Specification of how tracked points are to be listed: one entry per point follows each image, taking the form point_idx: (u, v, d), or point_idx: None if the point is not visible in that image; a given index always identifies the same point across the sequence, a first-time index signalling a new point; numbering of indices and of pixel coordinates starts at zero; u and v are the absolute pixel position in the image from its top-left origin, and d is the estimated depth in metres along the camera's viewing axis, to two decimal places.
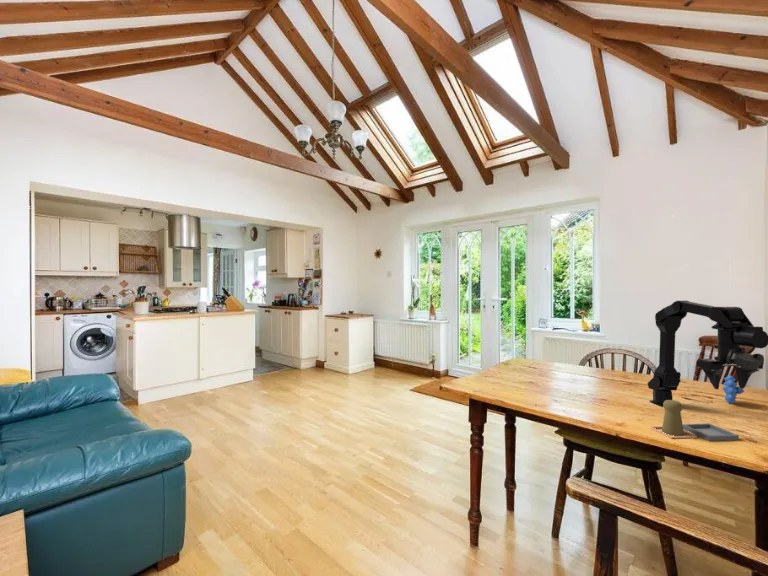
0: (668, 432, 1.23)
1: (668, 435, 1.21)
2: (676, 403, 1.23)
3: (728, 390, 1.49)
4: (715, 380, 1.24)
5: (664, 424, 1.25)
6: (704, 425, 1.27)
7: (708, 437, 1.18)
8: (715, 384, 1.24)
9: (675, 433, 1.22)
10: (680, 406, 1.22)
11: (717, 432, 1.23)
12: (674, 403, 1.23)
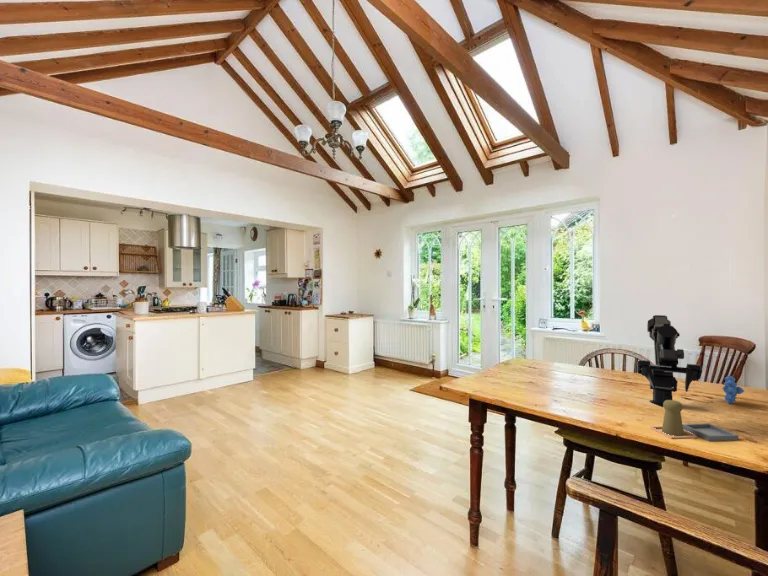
0: (668, 432, 1.23)
1: (668, 435, 1.21)
2: (676, 403, 1.23)
3: (728, 390, 1.49)
4: (650, 379, 1.34)
5: (664, 424, 1.25)
6: (704, 425, 1.27)
7: (708, 437, 1.18)
8: (651, 382, 1.34)
9: (675, 433, 1.22)
10: (680, 406, 1.22)
11: (717, 432, 1.23)
12: (674, 403, 1.23)
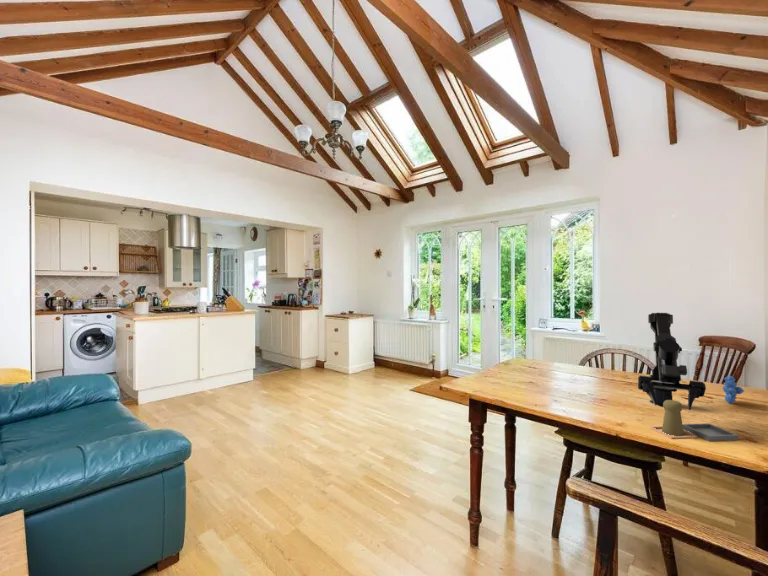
0: (668, 432, 1.23)
1: (668, 435, 1.21)
2: (676, 403, 1.23)
3: (728, 390, 1.49)
4: (652, 395, 1.29)
5: (664, 424, 1.25)
6: (704, 425, 1.27)
7: (708, 437, 1.18)
8: (653, 399, 1.29)
9: (675, 433, 1.22)
10: (680, 406, 1.22)
11: (717, 432, 1.23)
12: (674, 403, 1.23)
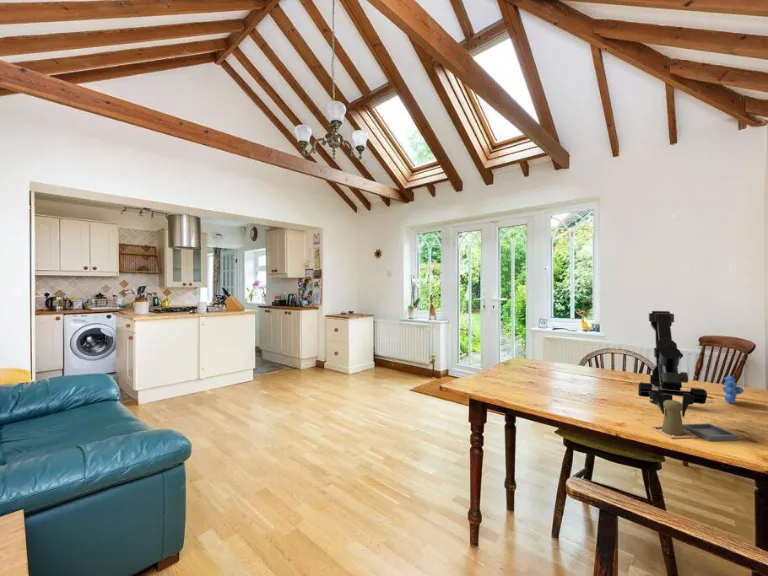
0: (668, 432, 1.23)
1: (668, 435, 1.21)
2: (676, 403, 1.23)
3: (728, 390, 1.49)
4: (659, 404, 1.26)
5: (664, 424, 1.25)
6: (704, 425, 1.27)
7: (708, 437, 1.18)
8: (660, 408, 1.26)
9: (675, 433, 1.22)
10: (680, 406, 1.22)
11: (717, 432, 1.23)
12: (674, 403, 1.23)
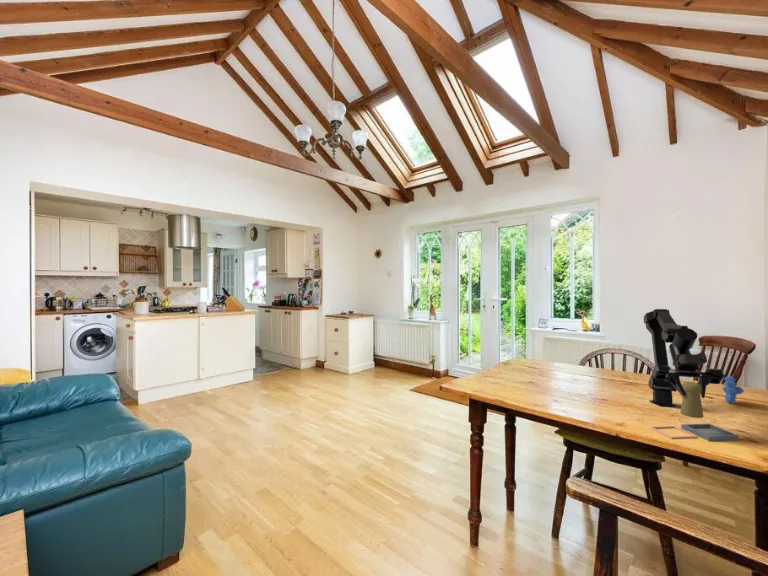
0: (689, 414, 1.22)
1: (668, 435, 1.21)
2: (696, 384, 1.21)
3: (728, 390, 1.49)
4: (678, 386, 1.25)
5: (684, 406, 1.23)
6: (704, 425, 1.27)
7: (708, 437, 1.18)
8: (680, 390, 1.24)
9: (696, 415, 1.21)
10: (700, 387, 1.21)
11: (717, 432, 1.23)
12: (695, 385, 1.21)
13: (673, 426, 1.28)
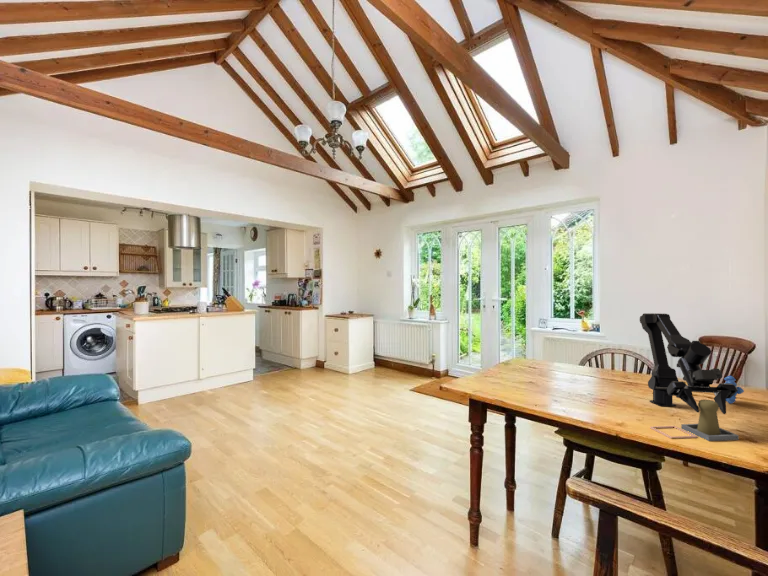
0: (708, 433, 1.21)
1: (668, 435, 1.21)
2: (714, 403, 1.21)
3: None
4: (692, 402, 1.24)
5: (702, 425, 1.23)
6: None
7: (708, 437, 1.18)
8: (694, 406, 1.24)
9: (715, 433, 1.20)
10: None
11: None
12: (712, 403, 1.21)
13: (673, 426, 1.28)
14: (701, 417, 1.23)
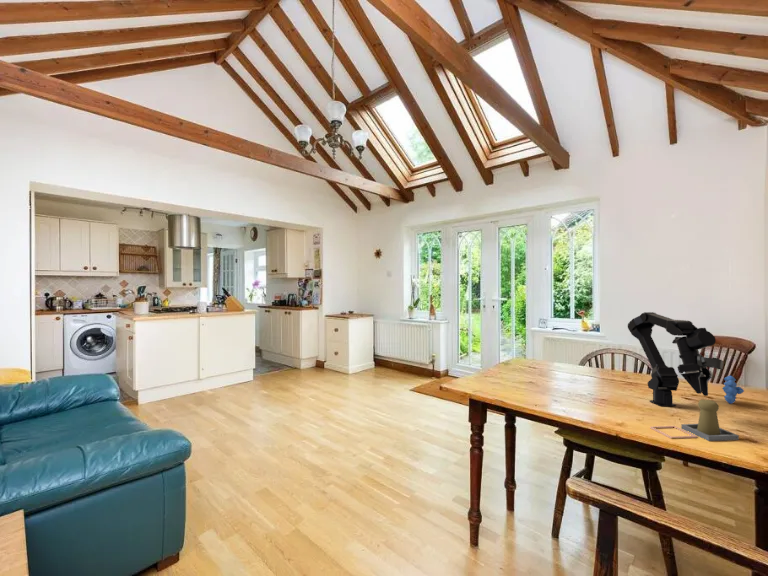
0: (708, 433, 1.21)
1: (668, 435, 1.21)
2: (714, 403, 1.21)
3: (728, 390, 1.49)
4: (698, 384, 1.30)
5: (702, 425, 1.23)
6: None
7: (708, 437, 1.18)
8: (698, 388, 1.30)
9: (715, 433, 1.20)
10: None
11: None
12: (712, 403, 1.21)
13: (673, 426, 1.28)
14: (701, 417, 1.23)
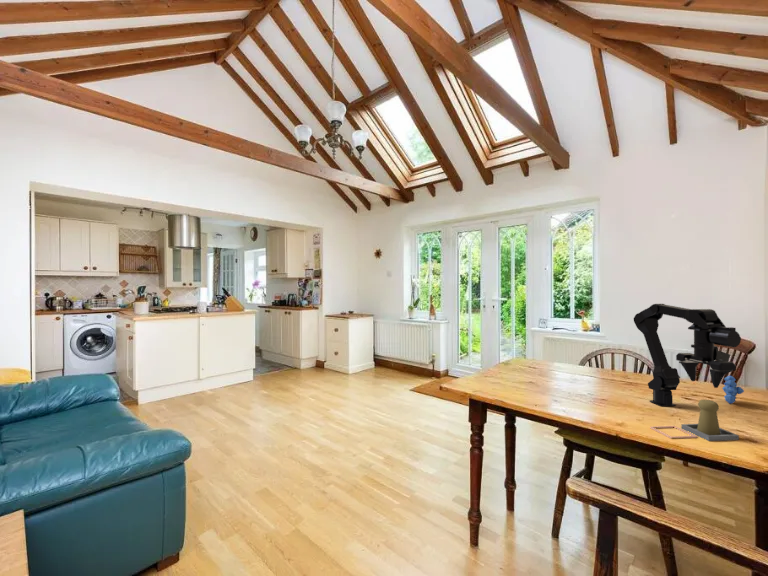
0: (708, 433, 1.21)
1: (668, 435, 1.21)
2: (714, 403, 1.21)
3: (728, 390, 1.49)
4: (720, 380, 1.31)
5: (702, 425, 1.23)
6: None
7: (708, 437, 1.18)
8: (718, 383, 1.31)
9: (715, 433, 1.20)
10: None
11: None
12: (712, 403, 1.21)
13: (673, 426, 1.28)
14: (701, 417, 1.23)
